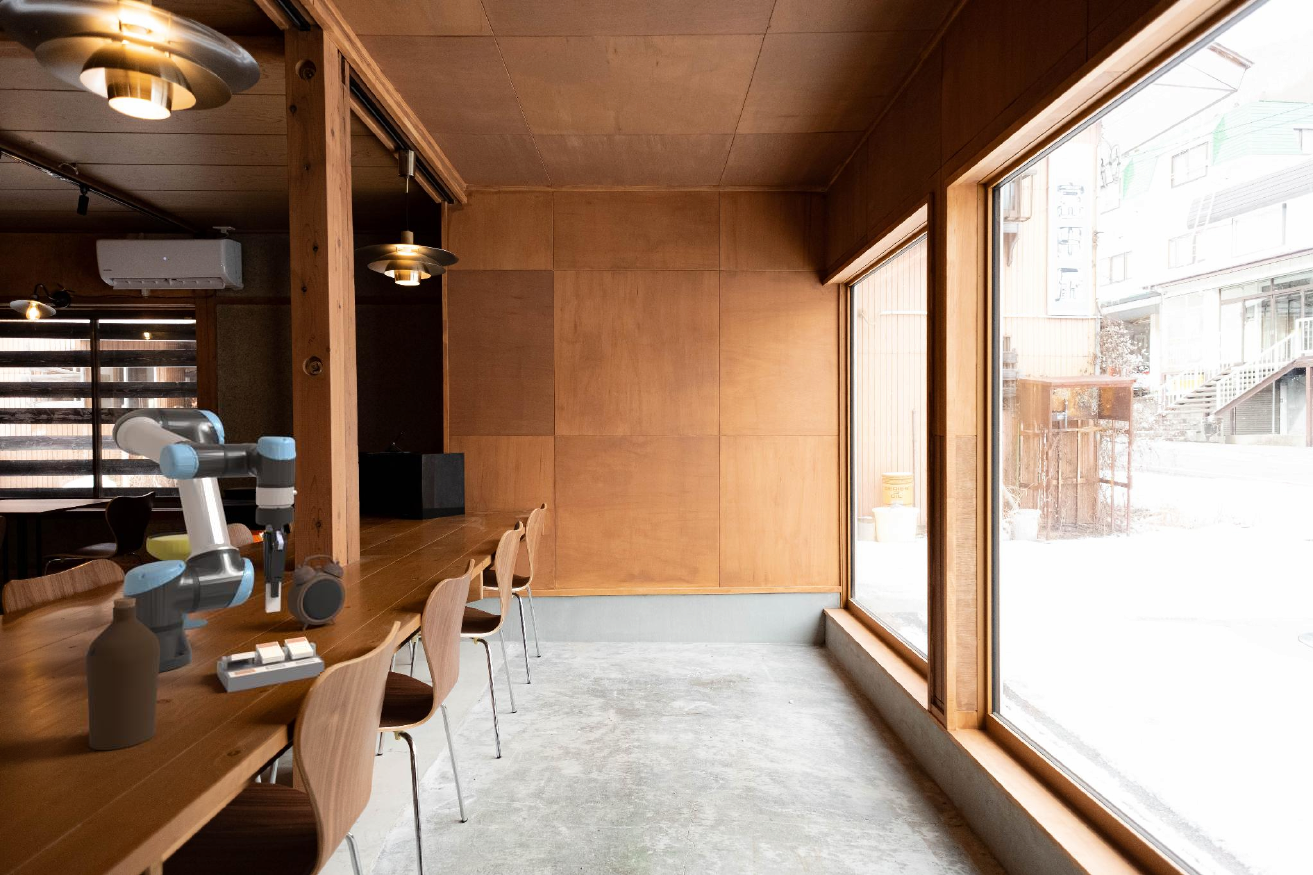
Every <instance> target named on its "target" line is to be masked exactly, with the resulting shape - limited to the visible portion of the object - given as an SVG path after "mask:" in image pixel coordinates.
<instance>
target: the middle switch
mask: <svg viewBox="0 0 1313 875" xmlns="http://www.w3.org/2000/svg"><path fill="white" fill-rule="evenodd" d="M255 651H256V652H257V653H258V655H259V657H260V659H261V661H262V663H263V664H264V663H270V662H276V661H282V660H285V654H284V653H283V651H282V647H281V646H280V644H279V642H278V641H272V642H266V643H259V644H255Z"/></svg>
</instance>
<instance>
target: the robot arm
mask: <svg viewBox="0 0 1313 875" xmlns="http://www.w3.org/2000/svg"><path fill="white" fill-rule="evenodd" d="M224 430H225V429H224V426H223V423H222V422H221V420H220V418H219V417H218V416H217V415H216V413H213V412H211V411H210V410H200V409H195V408H194V409H193V408H191V409H176V408H175V409H173V408H153V407H152V408H151V407H148V408H139V409H135V410H132V411H130V412H128V413H127V412H126V414H124V415H122V416H121V417H120V418H119V419H117V421H116V422H115V423H114V425H113V427H112V432H111V434H112V435H111V436H112V440H113V442H114V444H115V445H116V446H117V448H118V449H120V450H121V451H122V452H125V453H127V454H129V455H132V456H138V457H139V456H140V457H141V456H142V457H145V458H146V459H149V460H151V461H153V462H155V463H157V464H159V469H160V471H161V473H162V475H163V476H164V478H166V479H170V480H177V481H176V482H177V486H178V492H179V497H180V501H181V507H182V512H183V518H184V523H185V527H186V528H185V529H186V532H187V533H188V539H189V544H190V549H191V555H190V556H189V557H188V558H187V559H186V565H185V564H184V562H183V561H181V560H169V561H164V560H161V561H155V562H151V563H150V562H149V563H145V564H143V565H139V566H136V567H134V568H132V569H131V570H129V571H127V573H126V574H125V576H124V579H123V580H124V582H123V583H124V584H123V589H122V594H123V598H124V597H134V598H136V602H135V605H136V619H137V620H138V621H139V622H140V623H142V624H143V625H144V626H146V627H147V628H148V629H149V630H151V631H152V632H153V633H154V634H155V635H156V637H157V639H158V641H159V645H160V660H159V673H162V672H166V671H171V670H175V669H178V668H181V667H184V666H185V665H186V666H187V664H189V663H191V662H192V661H193V649H192V647H191V646H192V645H191V644H190V641H189V639H188V637H187V633H186V631H185V630H184V615H186V614H187V615H191V614H197V613H203V612H209V611H217V610H221V609H222V610H223V609H229V608H231V607H236V606H239V605H243V604H244V603H245V602H246V601H248V599H249V598H250V597H251V594H252V591H253V587H254V583H255V580H254V579H255V572H254V570H255V569H254V566H253V563H252V561H251V560H250V559H249V558H247V557H241V553H240V549H239V548H237V547H235V546H233V545H232V544H231V540H230V535H229V531H228V530H229V529H228V525H227V521H226V520H227V519H226V514H225V511H224V506H223V501H222V497H221V491H220V486H219V483H218V478H219V479H220V478H222V479H223V478H249V477H250V478H251V477H254V478H256V489H255V492H256V493H255V503H256V505H257V506H258V507H256V509H255V523H256V524H257V525H260V526H265V531H263V533H262V535H261V538H262V545H263V548H262V549H263V550H262V551H263V576H264V578H265V580H264V584H265V611H264V612H266V613H273V612H281V597H282V589H281V588H282V582H284V580H285V567H286V566H285V565H286V554H287V547H288V543H289V541H288V540H287V532H286V531H285V528H284V526H285V525H289V524H292V523H294V520H295V507H293V506H292V505H293V504H294V503H295V495H298V492H297V490H296V489H295V481H296V480H295V479H296V457H297V453H296V440H294V438H293V437H290V436H289V437H288V436H262V437H260V438H259V439H258V440H257V443H254V442H245V443H244V442H243V443H225V439H224V437H225V431H224Z"/></svg>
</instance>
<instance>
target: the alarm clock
mask: <svg viewBox="0 0 1313 875" xmlns="http://www.w3.org/2000/svg"><path fill="white" fill-rule="evenodd" d="M318 558H328V560H329V561H330V563H327V564H325V565H324V567H323V568H322V565H317V566H315V567H314V568H315V569H316V570H317V571H315V570H314V569H313V567H311V566H310V565H306V564H307V562H308V561H309V560H313V559H318ZM343 568H344V567H342V566H341V565H340V561H339V560H338V561H336V562H335V561H334V559H333V558H332V556H331V555H327V554H316V555H311V556H308V557H306V558H305V559H303V560H302V562H301V564H298V565H296V569H295V570H294V571H293V572H292V575H291V578H292V582H293V584H292V585H291V586H290V588H289V590H288V593H287V597H286V603H287V604H286V605H287V609H288V611H289V613H290V614H291V615H292V616H293V617H294V618H295V619H297V620H298V621H299V622H298V624H297V627H300V626H301V624H302V623H304V626H303V628H302V631H305V630H306V628H307V627H308V626H309V625H315V626H316V625H317V626H318V625H319V626H320V625H323V624H326V623H329V622H330V621H331V622H332V625H333V626H335V625H336V622H335V620H334V619H335V618H336V617H337V615H339V614H340V612H341V611H342V609H343V607H344V603H345V600H346V589H345V587H344V584H343V582H342V581H341V579H343V577H344V573H345V571H344V569H343ZM320 569H321V571H320Z"/></svg>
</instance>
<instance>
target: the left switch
mask: <svg viewBox="0 0 1313 875" xmlns="http://www.w3.org/2000/svg"><path fill="white" fill-rule="evenodd" d="M253 657H255V651H249V652H241V653H235V654H230V655H228V656H226V658H227V663H228V662H234V661H240V660H247V659H250V658H253Z"/></svg>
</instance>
